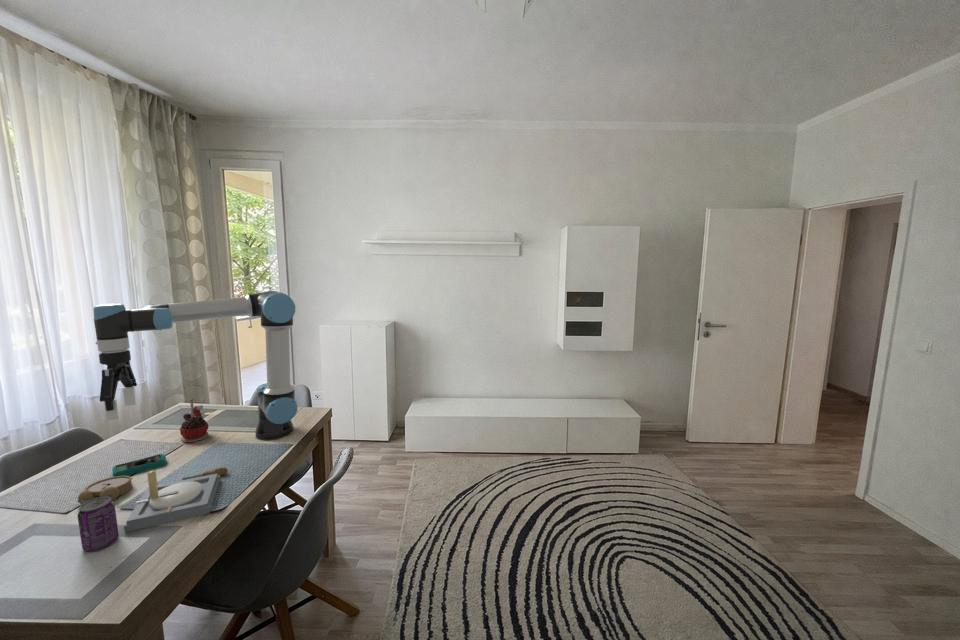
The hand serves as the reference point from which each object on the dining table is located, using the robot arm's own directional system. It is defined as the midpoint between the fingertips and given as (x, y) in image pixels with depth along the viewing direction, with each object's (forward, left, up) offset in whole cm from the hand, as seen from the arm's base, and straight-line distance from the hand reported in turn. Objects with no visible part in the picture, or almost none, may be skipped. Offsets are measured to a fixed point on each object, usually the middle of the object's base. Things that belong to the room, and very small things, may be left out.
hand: (122, 412), depth 129 cm
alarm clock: (+4, +6, -26) cm, 27 cm away
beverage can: (-4, +34, -26) cm, 43 cm away
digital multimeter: (0, -11, -26) cm, 28 cm away
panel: (-18, +21, -26) cm, 38 cm away
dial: (-18, +21, -24) cm, 36 cm away
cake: (-13, -32, -26) cm, 43 cm away
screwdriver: (-23, +7, -26) cm, 35 cm away
